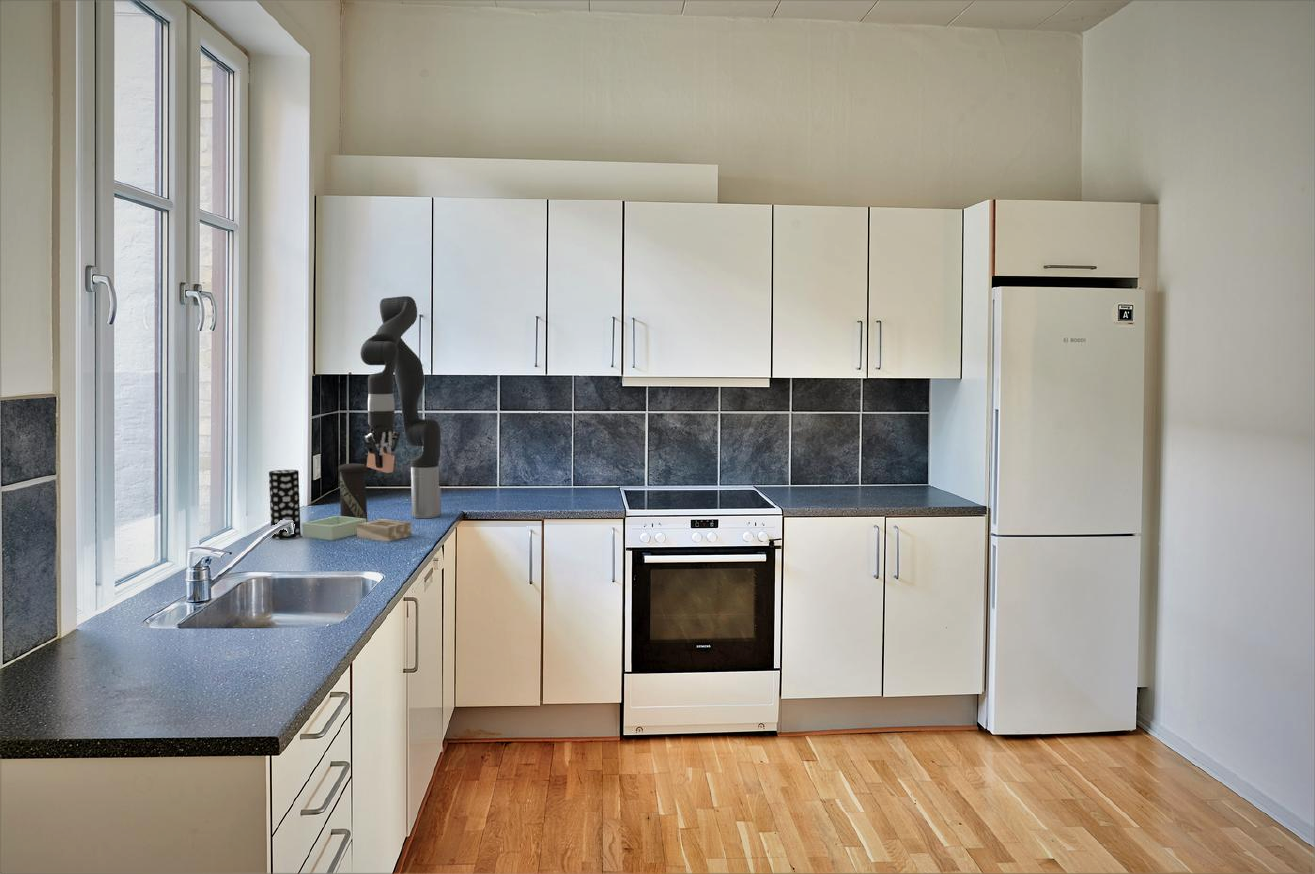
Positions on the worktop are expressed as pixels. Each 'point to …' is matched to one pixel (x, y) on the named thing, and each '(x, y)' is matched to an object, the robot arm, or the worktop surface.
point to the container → (353, 490)
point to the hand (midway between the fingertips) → (382, 466)
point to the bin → (331, 527)
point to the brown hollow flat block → (384, 530)
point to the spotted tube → (285, 500)
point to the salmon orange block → (387, 462)
